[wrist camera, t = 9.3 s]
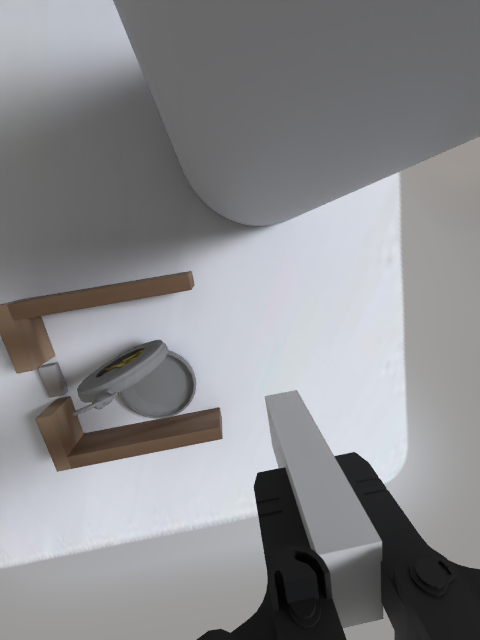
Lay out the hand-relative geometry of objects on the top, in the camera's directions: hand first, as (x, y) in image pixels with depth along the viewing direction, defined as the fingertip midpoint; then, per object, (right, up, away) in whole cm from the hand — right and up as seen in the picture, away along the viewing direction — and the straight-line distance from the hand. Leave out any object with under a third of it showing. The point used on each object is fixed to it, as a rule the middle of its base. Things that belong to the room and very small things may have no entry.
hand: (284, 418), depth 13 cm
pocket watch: (-10, 0, +12) cm, 16 cm away
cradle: (-12, +1, +12) cm, 17 cm away
